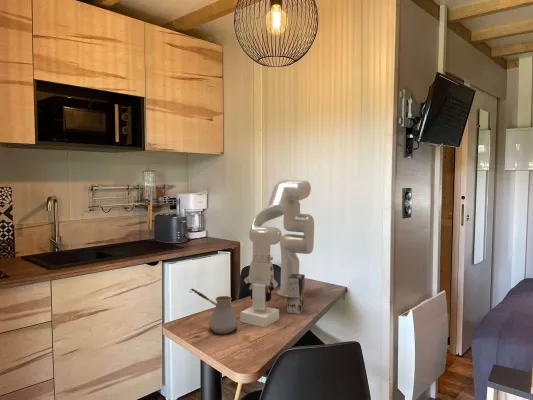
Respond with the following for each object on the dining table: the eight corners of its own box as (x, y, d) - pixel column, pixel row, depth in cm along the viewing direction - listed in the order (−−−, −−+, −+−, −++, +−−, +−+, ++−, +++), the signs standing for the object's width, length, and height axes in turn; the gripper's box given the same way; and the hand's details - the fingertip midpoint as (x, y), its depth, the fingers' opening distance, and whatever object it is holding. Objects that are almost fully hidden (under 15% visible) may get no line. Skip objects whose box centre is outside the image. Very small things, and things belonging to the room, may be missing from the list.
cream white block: (255, 314, 179) (255, 304, 179) (278, 319, 173) (279, 309, 173) (240, 322, 169) (240, 312, 168) (264, 328, 163) (265, 317, 162)
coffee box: (300, 314, 179) (301, 279, 178) (286, 312, 180) (287, 277, 179) (304, 308, 188) (305, 274, 186) (290, 306, 189) (291, 273, 188)
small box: (264, 310, 166) (265, 285, 165) (251, 309, 167) (252, 284, 166) (268, 304, 174) (269, 280, 173) (256, 303, 175) (256, 279, 174)
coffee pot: (242, 327, 162) (243, 291, 161) (229, 337, 152) (229, 299, 151) (197, 319, 170) (197, 284, 169) (181, 328, 160) (182, 291, 159)
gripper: (283, 259, 169) (282, 300, 170) (247, 254, 176) (246, 294, 177) (276, 262, 162) (275, 305, 163) (239, 257, 169) (238, 299, 171)
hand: (260, 299), depth 170 cm, fingers closed on small box, 6 cm apart
